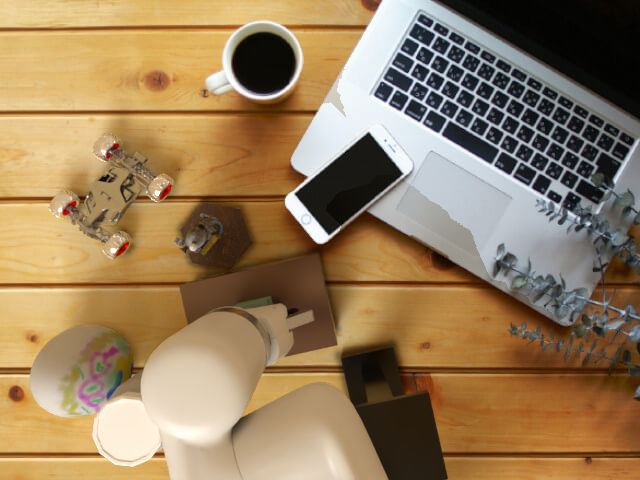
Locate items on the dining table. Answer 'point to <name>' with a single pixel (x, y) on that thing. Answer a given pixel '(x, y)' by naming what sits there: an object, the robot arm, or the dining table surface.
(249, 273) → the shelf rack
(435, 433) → the plant stand
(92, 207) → the toy car
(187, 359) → the robot arm
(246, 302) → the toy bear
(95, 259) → the dining table surface
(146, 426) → the jar
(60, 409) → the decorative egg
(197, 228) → the robot figurine
